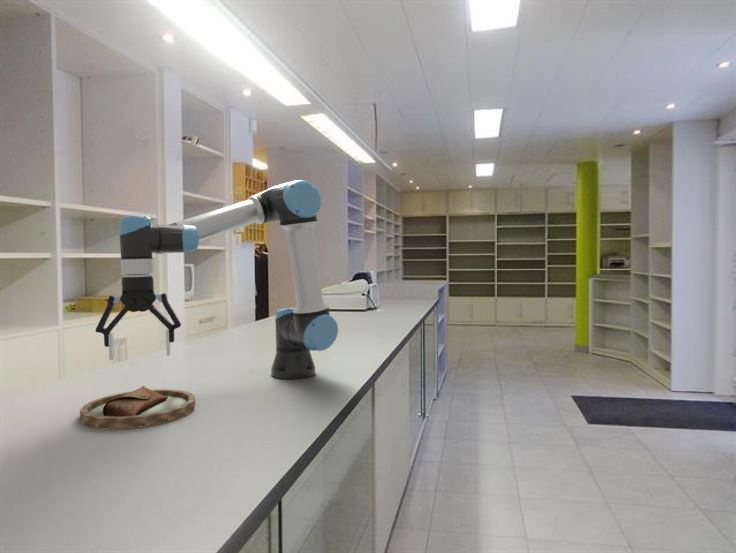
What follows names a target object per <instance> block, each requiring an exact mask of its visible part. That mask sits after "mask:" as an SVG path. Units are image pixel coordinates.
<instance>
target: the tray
mask: <svg viewBox="0 0 736 553" xmlns="http://www.w3.org/2000/svg"><path fill="white" fill-rule="evenodd" d="M151 390H152V391H154V392H157V393H159V394H162V395H164V396H166V397H168V398H167V399H166V400H164V401H162V402H161V403H159V404H157V405H155V406H153V407H151V408H149V409H147V410H145V411H143V412H141V413H139V414H138V415H136V416H125V417H114V416H104V415H103V408H104V406H105V404H106V403H107V402H109V401H110V400H112V399H115V398H118V397H121V396H123V395H125V394H127V393H129V392H130V391H127V392H121V393H115V394H110V395H107V396H104V397H99V398H97V399H94V400H91V401H90V402H87V403H85V404H84V405H83V406H82V407H81V408H80V410H79V420H80V422H81V423H82V424H83V425H84V427H90V428H94V429H95V428H96V429H98V428H100V430H101V428H106V429H105V430H108V429H107V428H110V429H109V430H122V429H121V428H128V429H131V428H130V427H138V428H140V427H139V426H147V427H149V426H148V425H152V426H155V425H154V424H157V425H160V424H159V423H162V424H164V423H163V422H167V423H169V422H168V421H170V422H172V421H171V420H173V421H175V420H174V419H176V420H178V419H177V418H179V419H181V418H180V417H182V418H184V417H186V416H188V415H190V414H191V413H193V410H194V411H195V407H196V395H195V394H193V393H192V392H189V391H185V390H179V389H169V388H168V389H166V388H165V389H164V388H162V389H161V388H156V389H155V388H154V389H153V388H152V389H151ZM190 412H191V413H190ZM187 414H188V415H187ZM183 416H184V417H183ZM112 428H113V429H112Z"/></svg>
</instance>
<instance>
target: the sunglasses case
mask: <svg viewBox="0 0 736 553" xmlns="http://www.w3.org/2000/svg"><path fill="white" fill-rule="evenodd" d="M152 390H153V389H150V388H147V387H146V386H145V385H142V386H141V387H138V389H134V390H132V391H128V392H129V393H127V394H125V395H123V396H121V397H118V398H115V399H112V400H110V401H109V402H107V403H106V404H105V406H104V408H103V415H104V416H114V417H125V416H136V415H138V414H139V413H141V412H143V411H145V410H147V409H149V408H151V407H153V406H155V405H157V404H159V403H161V402H162V401H164V400H166V399H167V398H168V397H166V396H164V395H162V394H159V393H157V392H154V391H152Z"/></svg>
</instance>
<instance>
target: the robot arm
mask: <svg viewBox="0 0 736 553" xmlns="http://www.w3.org/2000/svg"><path fill="white" fill-rule="evenodd" d="M321 205H322V198H321V194H320V191H319V190H318V189H317V187H316V186H314V185H313V184H312V183H311V182H309V181H307V180H304V179H303V180H302V179H298V180H291V181H288V182H285V183H280V184H277V185H273V186H271V187H269V188H268V189H266V190H263V191H261V192H259V193H256V194H253V195H250V196H249V197H248V198H247V200H244V201H241V202H238V203H234V204H232V205H228V206H225V207H221V208H219V209H218V208H217V209H215V210H211V211H208V212H205V213H202V214H199V215H195V216H193V217H189V218H186V219H182V220H179V221H175V222H173V223H169V224H155V223H153V222H152V218H151V217H149V216H147V215H146V216H142V215H127V216H122V217H121V218H120V220H119V234H118V236H119V247H120V274H121V275H122V276H123V277H122V278H121V292H122V293H121V296H120V295H118V296H117V295H113V294H112V295H110V296H108V299H107V301H108V302H107V305H106V307H105V310H104V312H103V314H102V316H101V317H100V320H99V322H98V324H97V325H96V328H95V332H96V333H100V334H103V342H104V347H105V348H107V347H108V353H109V355H108V356H109V361H113V360H114V359H116V357H115V356H116V355H115V333H114V332H112V331H113V330H114V328H116V326H117V325H118V324H119V322H120V321H121V320H122V319H123V318H124V316H125V315H126V314H127V313H128V312H131V313H135V312H142V313H143V312H147V311H149V312H150V313H151V314H153V315H154V316H155V317H156V318H157V319H158V320H159V321H160V323H161V324H163V326H164V327H166V328H167V329H166V330H165V342H166V343H165V345H166V346H165V347H166V356H167V357H170V356H171V353H172V352H171V343H174V342H175V330H176V329H178V328H181V326H182V323H181V321H180V319H179V318H178V316H177V314H176V313H175V311H174V309H173V307H172V306H171V304H170V303H169V300H168V295H167V293H166V292H163V293H160V294H155V290H154V289H155V288H154V287H155V286H154V277H153V276H152V275H153V274H154V268H153V267H154V266H153V264H154V263H153V253H154V254H158V255H161V254H171V253H173V254H174V253H178V254H179V253H184V254H186V253H193V252H196V251H197V250H198V247H199V243H200V242H202V241H204V240H207V239H208V240H209V239H211V238H214V237H217V236H220V235H223V234H226V233H228V232H229V233H230V232H232V231H236V230H238V229H241V228H244V227H247V226H249V225H254V224H257V225H263V224H266V223H271V222H279V223H280V224H279V226H280V228H281V229H282V230H284V231H285V233H286V239H287V247H288V253H289V260H290V268H291V274H292V275H291V276H292V282H293V288H294V289H293V290H294V296H295V301H296V302H295V303H296V306H295V307H289V308H280V309H278V310H277V311H276V312H275V318H274V321H275V355H274V359H273V362H272V366H271V369H270V371H271V372H270V375H271V377H273V378H274V379H275V378H276V379H281V380H282V379H283V380H292V379H293V380H297V379H304V378H305V379H306V378H309V377H313V376H314V375H315V374H316V366H315V363H314V360H313V356H312V354H311V351H312V352H313V351H317V352H320V351H322V352H323V351H326V350H327V349H329V348H330V347H331V346H333V344H334V342H336V340H337V337H338V334H339V326H338V322H337V320H336V319H334V317H333V316H332V315H330V314H331V313H330V307H329V305H328V304H327V303H325V301H324V299H323V291H322V283H321V277H320V276H321V275H320V269H319V261H318V255H317V247H316V246H317V245H316V240H315V232H314V227H315V226H316V224H317V223H318V220H317V214H318V212H319V210H320V209H321V207H322V206H321ZM156 300H158V302H159V303H162V306H163V307H164V309H165V310H166V312H167V314H168V315H169V317H170V319H171V320H172V323H173V324H172V323H171V322H170V321H169V320H168V318H166V316H164V314H162V313H161V311H159V310H158V309H157V307H156V306H155V305H154V302H155V301H156ZM119 302H121V303H122V305H123V308H122V309H121V310H120V312H119V313H118V314H117V315H116V316H115V317H114V318H113V320H112V321H111V322H110V323H109V324H108V325H107V327H105V326H106V323H107V321H108V319H109V318H110V315H111V314H112V311H113V309H114V307H115V305H116V304H118V303H119Z"/></svg>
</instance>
